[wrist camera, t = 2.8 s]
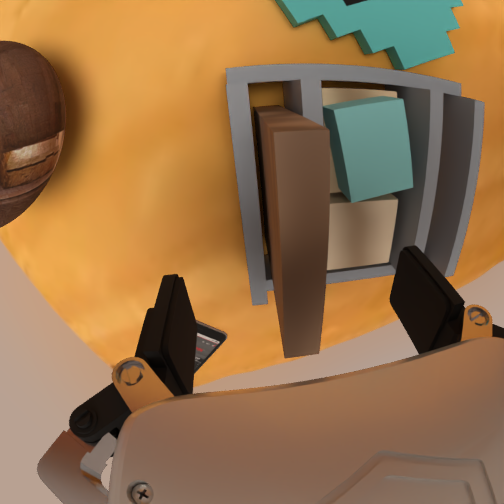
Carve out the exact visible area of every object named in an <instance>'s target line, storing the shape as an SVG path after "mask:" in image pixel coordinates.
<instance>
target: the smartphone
mask: <svg viewBox="0 0 504 504" xmlns="http://www.w3.org/2000/svg"><path fill="white" fill-rule="evenodd" d="M196 323H197V329H198V332H197V343H196V354H195V367H194V373H195V372H196V371H197V370H198V369H199V368H200V367H201V366H202V365H203V364H204V363H205V362H206V361H207V360H208V358H209V357H210V356H211V355H212V354H213V353H214V352H215V351H216V350H217V349H218V348H219V347H220V345H221V344H222V343H223V342H224V341H225V340H226V339H227V334H226V333H225V332H224V331H221V330H219V329H216V328H214V327H211V326H209V325H207V324H204V323H202V322H199V321H197V320H196Z"/></svg>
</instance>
